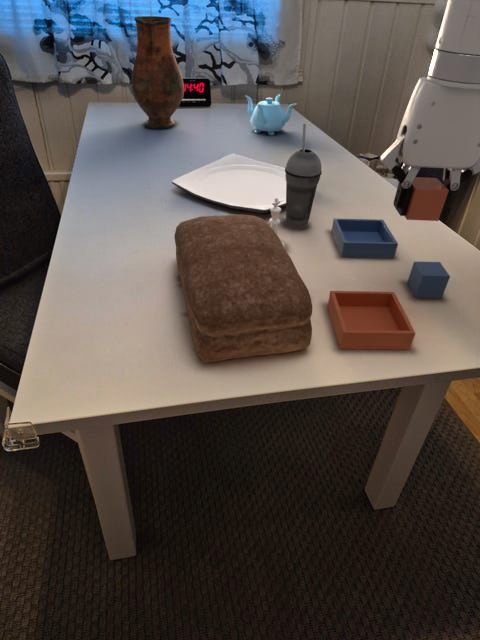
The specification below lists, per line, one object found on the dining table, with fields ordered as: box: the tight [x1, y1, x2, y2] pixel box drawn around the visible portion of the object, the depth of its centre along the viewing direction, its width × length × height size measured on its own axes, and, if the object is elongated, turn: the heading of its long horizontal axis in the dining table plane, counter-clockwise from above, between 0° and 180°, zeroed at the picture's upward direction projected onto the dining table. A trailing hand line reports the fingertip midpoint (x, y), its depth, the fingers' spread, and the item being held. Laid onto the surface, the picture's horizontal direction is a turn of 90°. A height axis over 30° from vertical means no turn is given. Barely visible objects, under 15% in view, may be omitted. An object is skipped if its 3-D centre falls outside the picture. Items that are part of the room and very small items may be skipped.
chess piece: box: [268, 198, 286, 249], centre depth 83 cm, size 5×5×10 cm
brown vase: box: [131, 15, 185, 130], centre depth 142 cm, size 17×21×30 cm
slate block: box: [406, 260, 451, 300], centre depth 75 cm, size 4×4×4 cm
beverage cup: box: [284, 123, 323, 231], centre depth 88 cm, size 7×7×20 cm
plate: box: [171, 153, 286, 214], centre depth 108 cm, size 29×29×3 cm
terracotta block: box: [404, 176, 449, 222], centre depth 63 cm, size 4×4×4 cm
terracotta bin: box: [326, 290, 416, 351], centre depth 67 cm, size 10×10×3 cm
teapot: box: [244, 93, 297, 136], centre depth 145 cm, size 13×13×10 cm
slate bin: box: [330, 218, 399, 259], centre depth 87 cm, size 10×10×3 cm
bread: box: [173, 213, 313, 363], centre depth 68 cm, size 17×29×11 cm, turn 12°
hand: (418, 211), depth 64 cm, fingers closed on terracotta block, 4 cm apart
